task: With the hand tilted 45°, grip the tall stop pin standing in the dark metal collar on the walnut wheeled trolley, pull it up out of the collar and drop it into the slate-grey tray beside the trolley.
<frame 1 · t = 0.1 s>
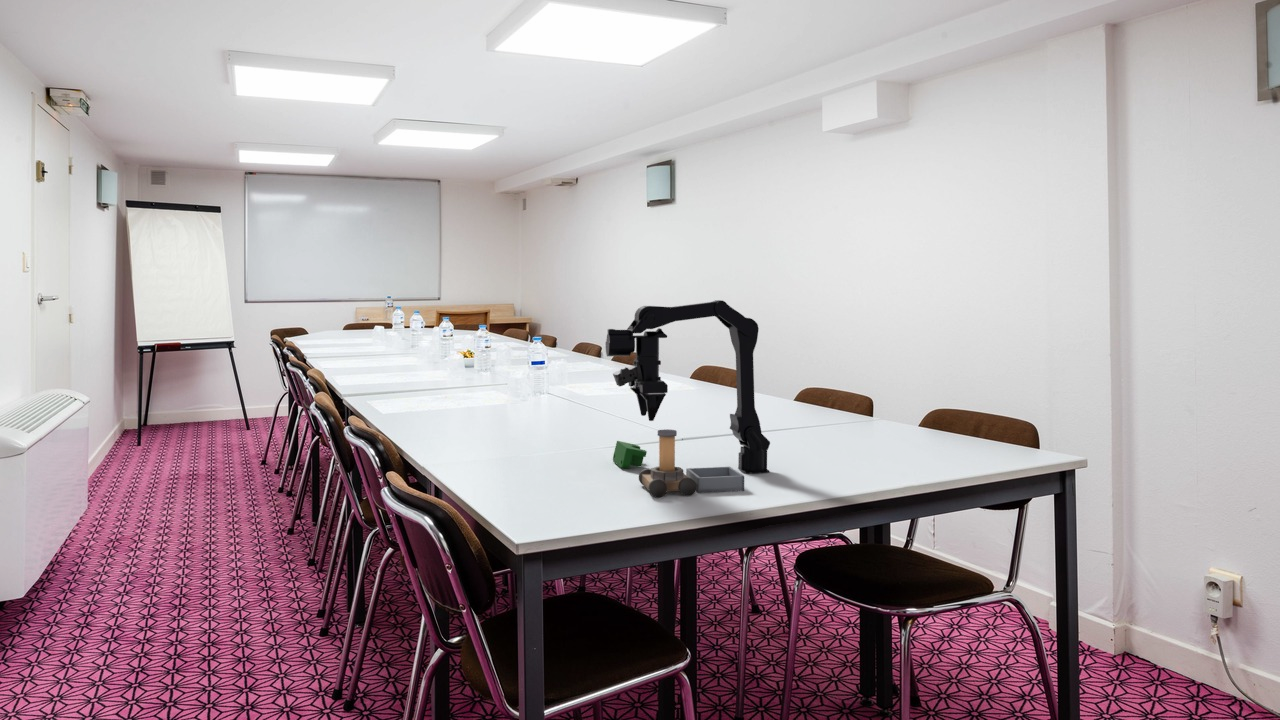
hand: (647, 418, 207), 15 cm above the table, tool pointing down, fingers open, 9 cm apart
trolley: (666, 490, 192), on the table
stop pin: (667, 477, 192), point 3 cm above the table, touching trolley
green block: (629, 466, 221), on the table
tray: (714, 486, 196), on the table
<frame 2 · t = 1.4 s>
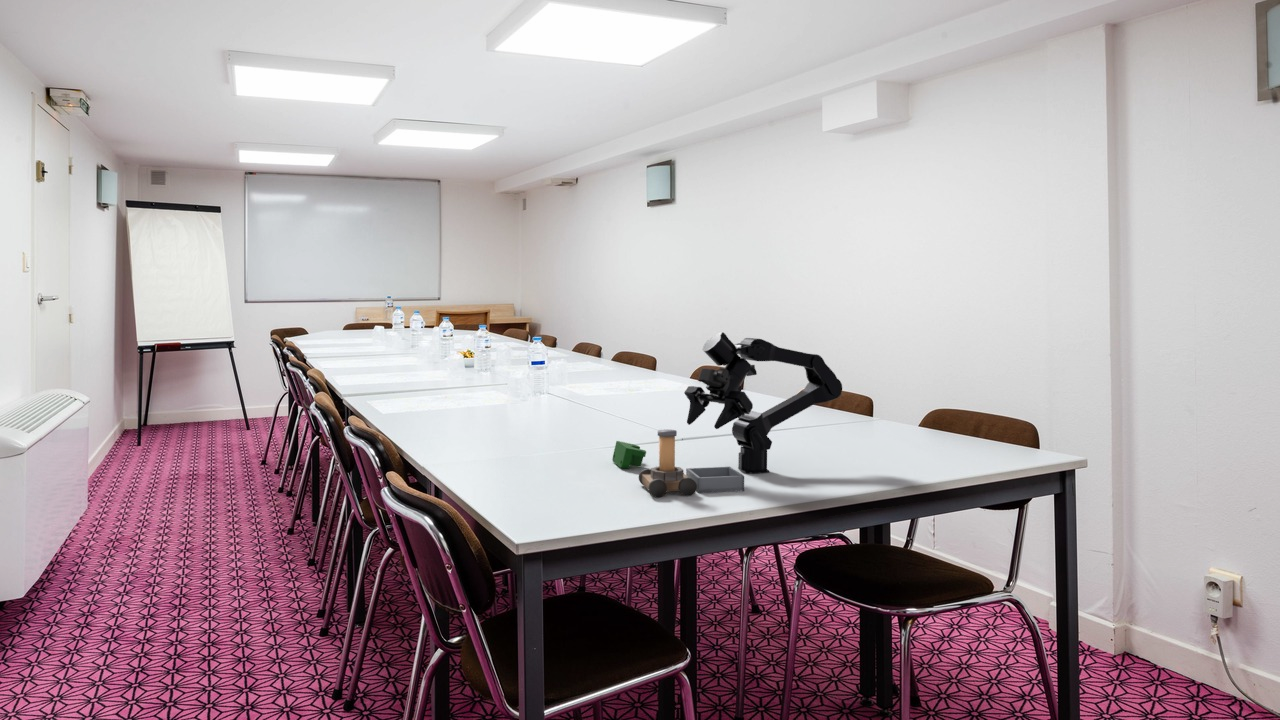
hand: (701, 425, 202), 14 cm above the table, tool tilted 45°, fingers open, 9 cm apart
nothing on the table moved.
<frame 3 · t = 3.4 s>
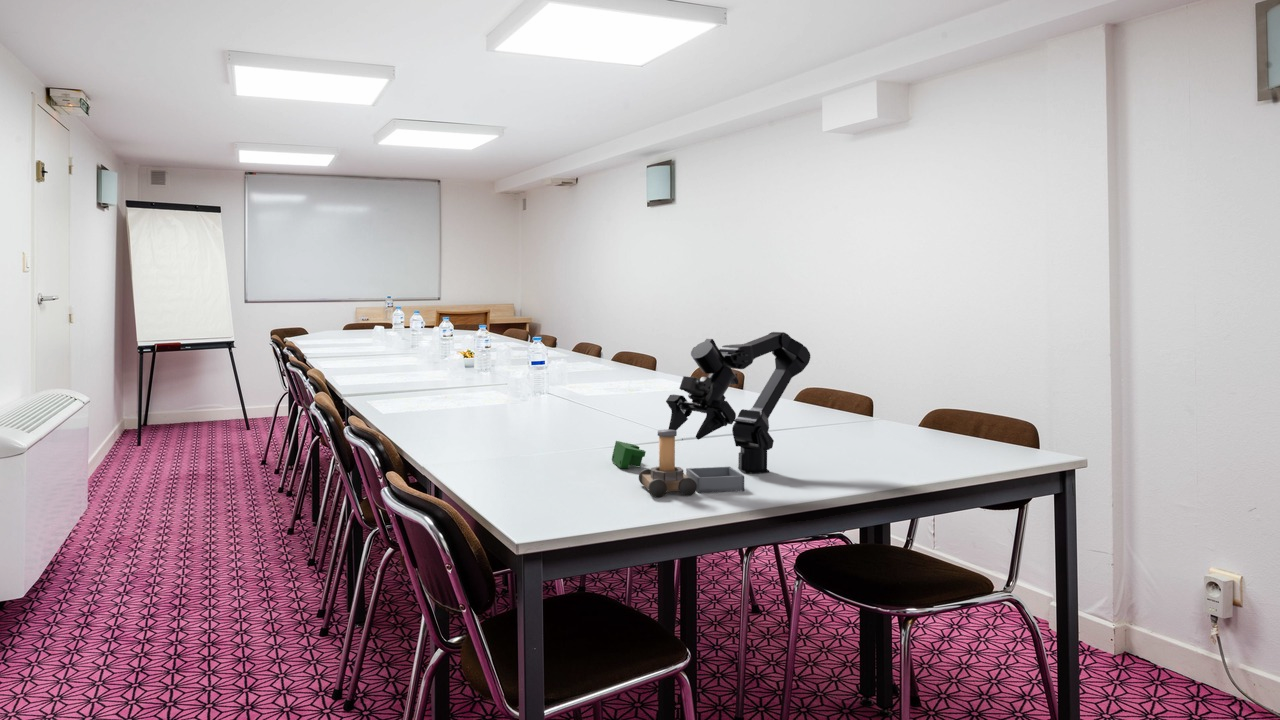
hand: (682, 435, 195), 12 cm above the table, tool tilted 45°, fingers open, 9 cm apart
nothing on the table moved.
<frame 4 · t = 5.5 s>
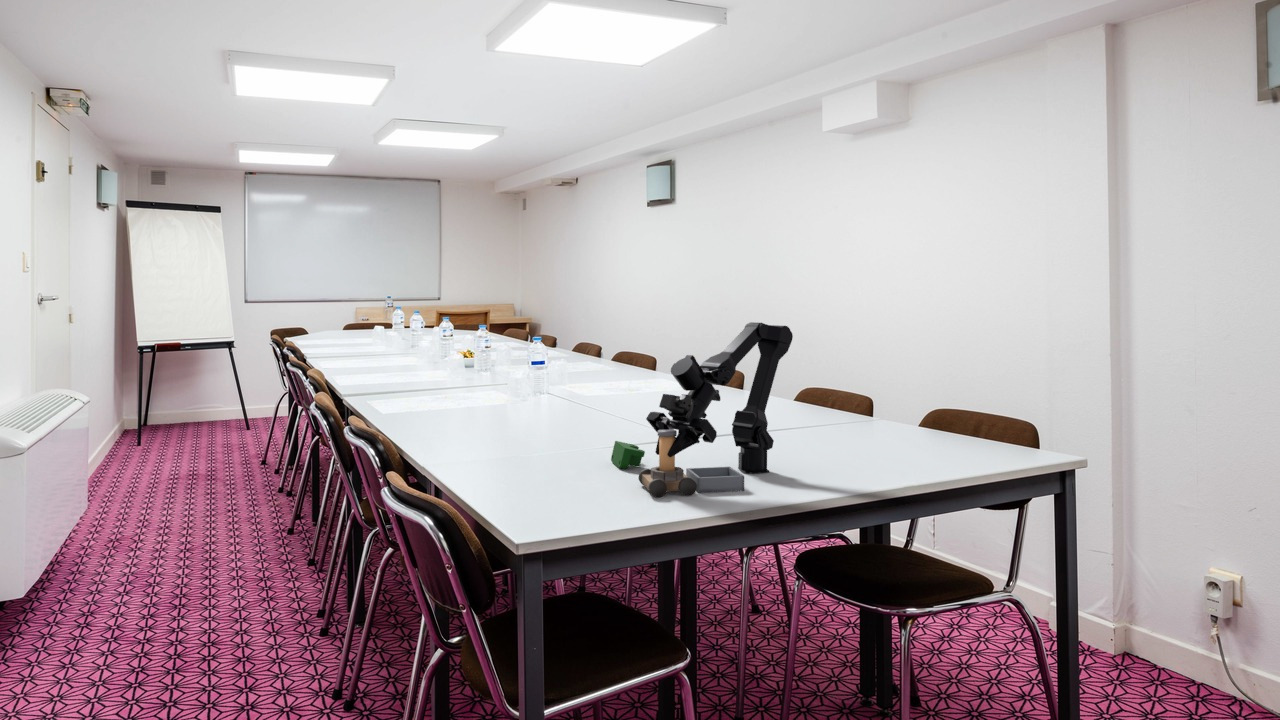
hand: (662, 454, 190), 9 cm above the table, tool tilted 45°, fingers closed on stop pin, 4 cm apart
stop pin: (667, 477, 192), point 3 cm above the table, touching gripper, trolley
everything else where it was.
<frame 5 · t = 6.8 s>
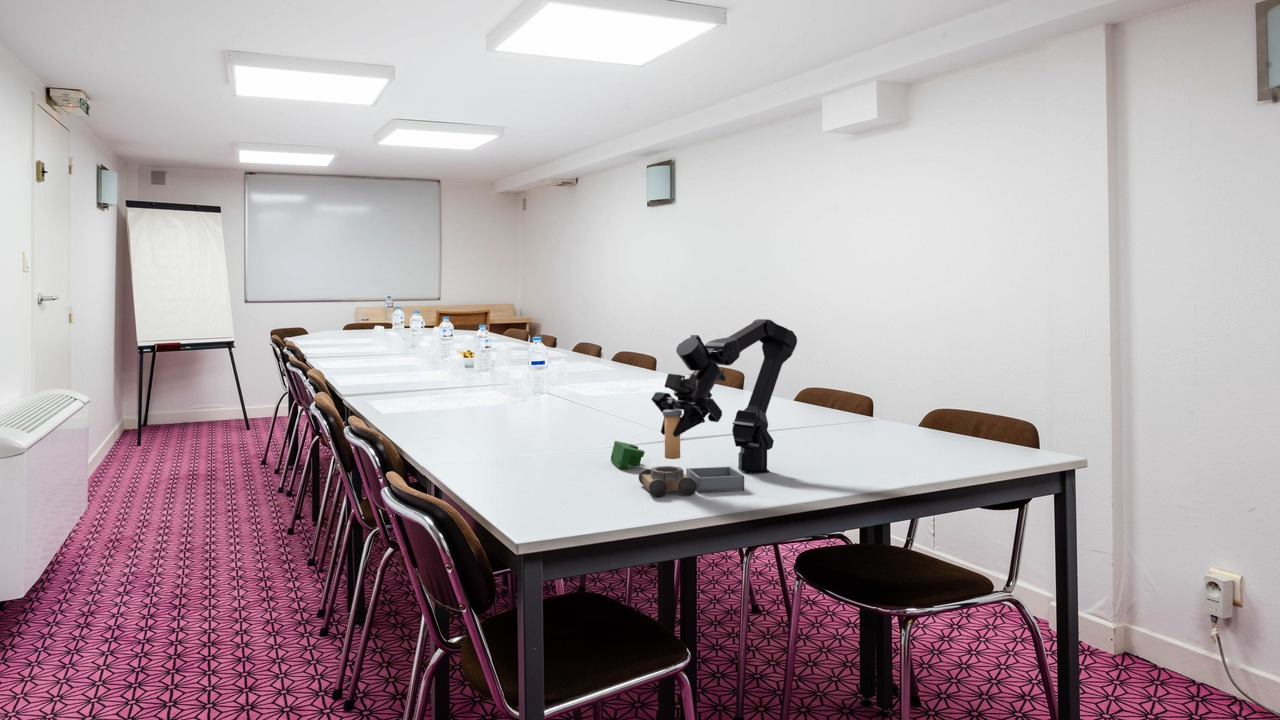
hand: (668, 434, 191), 13 cm above the table, tool tilted 45°, fingers closed on stop pin, 4 cm apart
stop pin: (672, 457, 192), point 8 cm above the table, touching gripper
everything else where it was.
when the fingers open (9 cm above the table, at t = 8.5 s): stop pin drops 3 cm, resting on tray.
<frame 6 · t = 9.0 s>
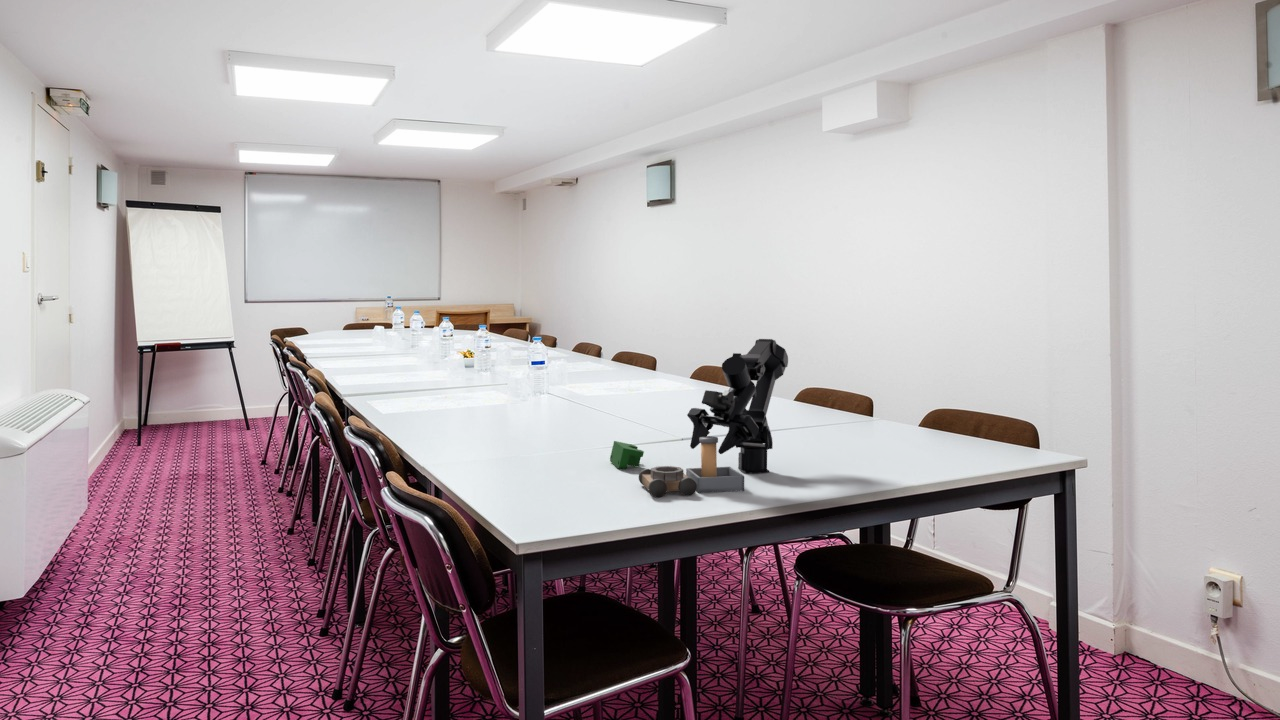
hand: (705, 450, 193), 9 cm above the table, tool tilted 45°, fingers open, 9 cm apart
stop pin: (709, 483, 195), point 1 cm above the table, touching tray
everything else where it was.
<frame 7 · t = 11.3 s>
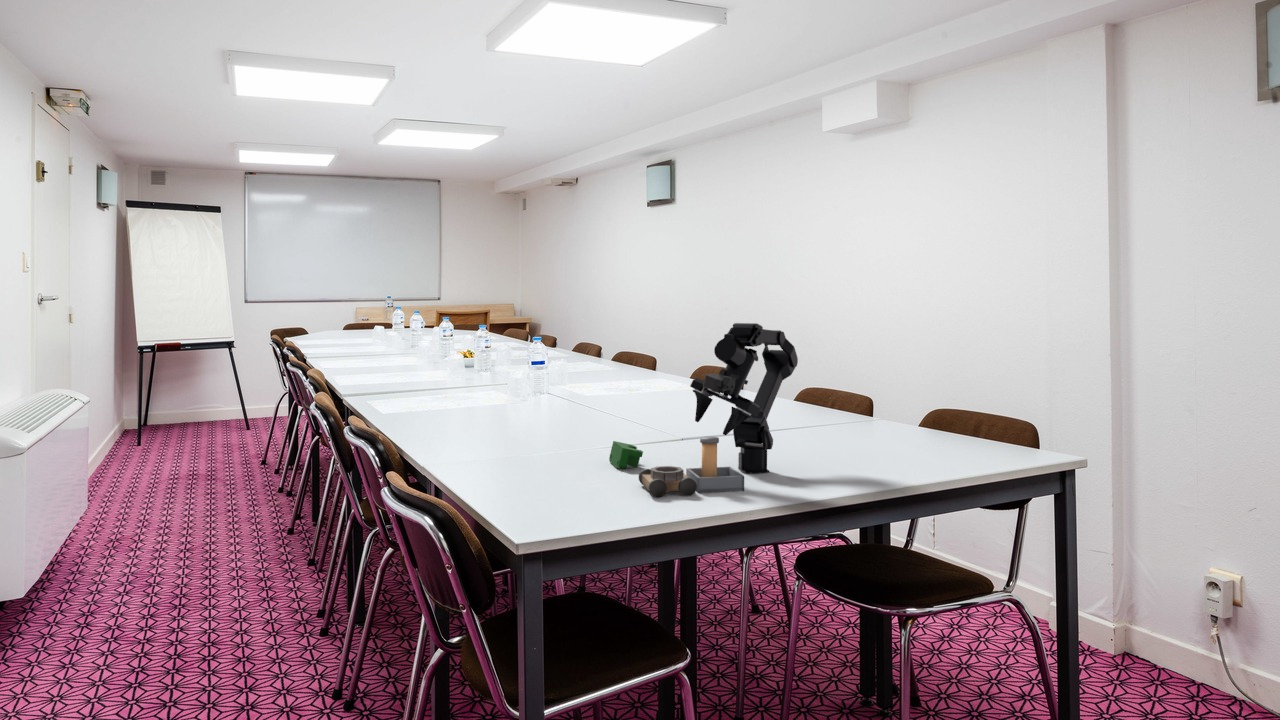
hand: (710, 428, 204), 13 cm above the table, tool tilted 25°, fingers open, 9 cm apart
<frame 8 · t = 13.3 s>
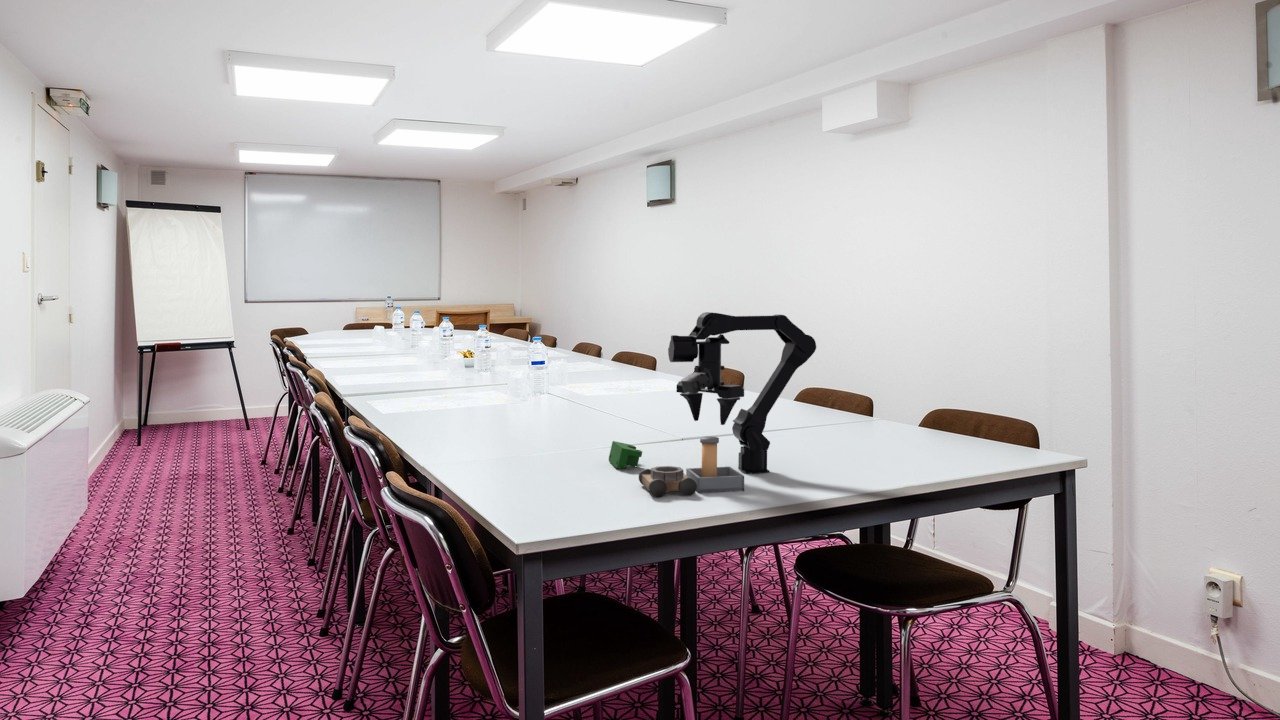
hand: (709, 422, 210), 13 cm above the table, tool pointing down, fingers open, 9 cm apart
at the end: stop pin inside the target area on the tray (1.6 cm from its centre), point 0.8 cm above the tray's base; the gripper is holding nothing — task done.
